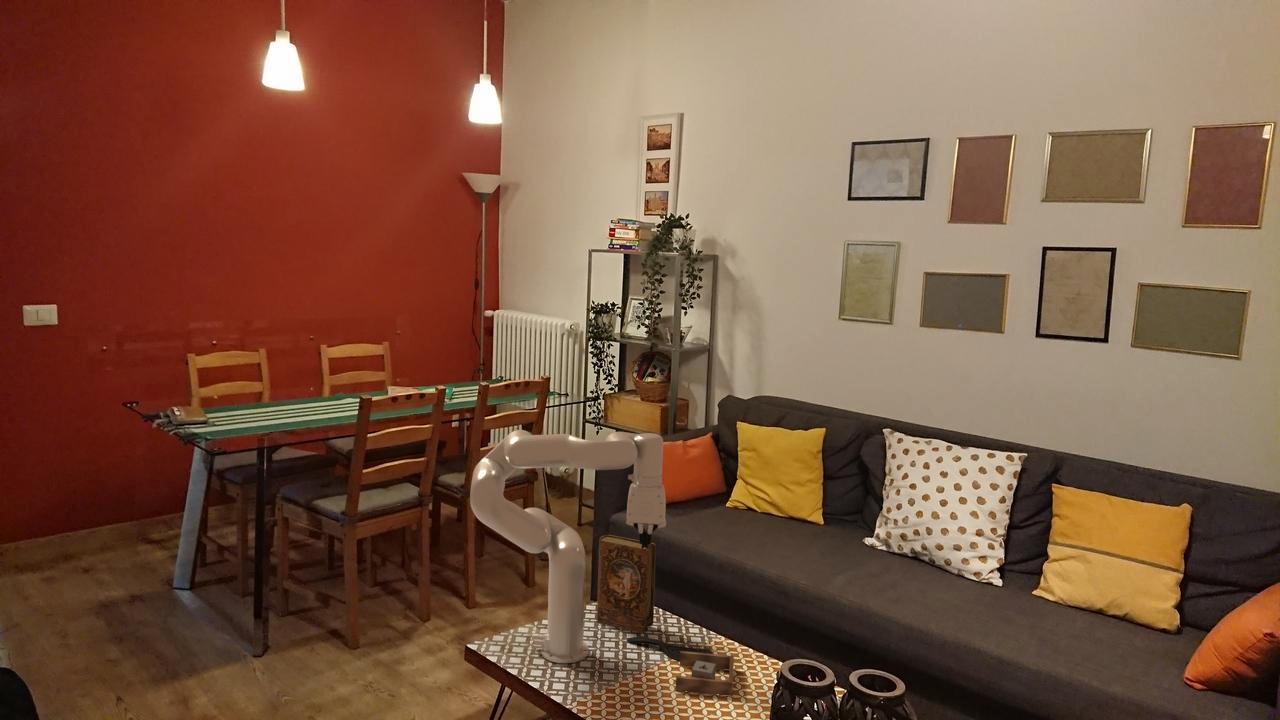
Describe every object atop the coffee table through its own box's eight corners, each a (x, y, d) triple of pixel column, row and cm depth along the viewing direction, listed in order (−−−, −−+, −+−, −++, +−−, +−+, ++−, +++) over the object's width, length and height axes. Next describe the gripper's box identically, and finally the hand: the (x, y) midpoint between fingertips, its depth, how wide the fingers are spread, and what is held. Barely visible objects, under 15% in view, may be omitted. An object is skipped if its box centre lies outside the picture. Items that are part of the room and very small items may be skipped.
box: (675, 690, 206) (676, 677, 205) (679, 663, 219) (680, 651, 219) (732, 696, 204) (733, 683, 203) (733, 668, 218) (733, 655, 217)
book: (594, 622, 242) (596, 539, 239) (602, 615, 247) (605, 534, 244) (645, 634, 235) (648, 549, 232) (653, 626, 240) (656, 543, 237)
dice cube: (690, 688, 207) (691, 669, 207) (695, 678, 212) (696, 660, 211) (710, 692, 206) (711, 673, 205) (714, 682, 210) (715, 663, 210)
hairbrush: (633, 626, 235) (716, 642, 224) (634, 638, 235) (716, 655, 224) (620, 637, 228) (704, 655, 217) (620, 650, 228) (704, 669, 217)
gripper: (617, 482, 218) (615, 549, 220) (674, 486, 216) (671, 553, 218) (621, 474, 225) (619, 539, 227) (676, 478, 223) (674, 544, 226)
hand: (645, 546), depth 223 cm, fingers closed
